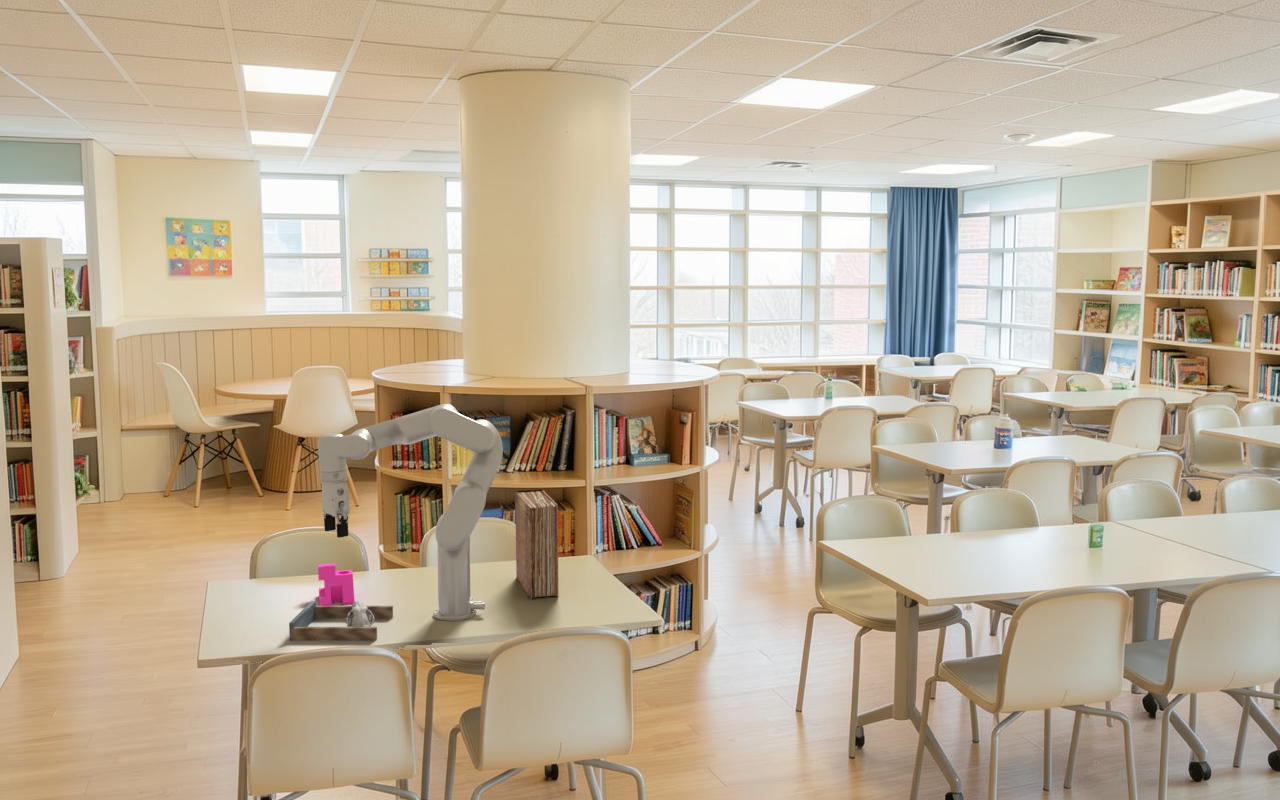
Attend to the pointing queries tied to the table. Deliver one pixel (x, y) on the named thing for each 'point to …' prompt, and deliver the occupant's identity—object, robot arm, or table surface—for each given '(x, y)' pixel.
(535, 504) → the book
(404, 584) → the table surface
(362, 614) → the skull
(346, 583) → the bracket
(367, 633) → the bay
